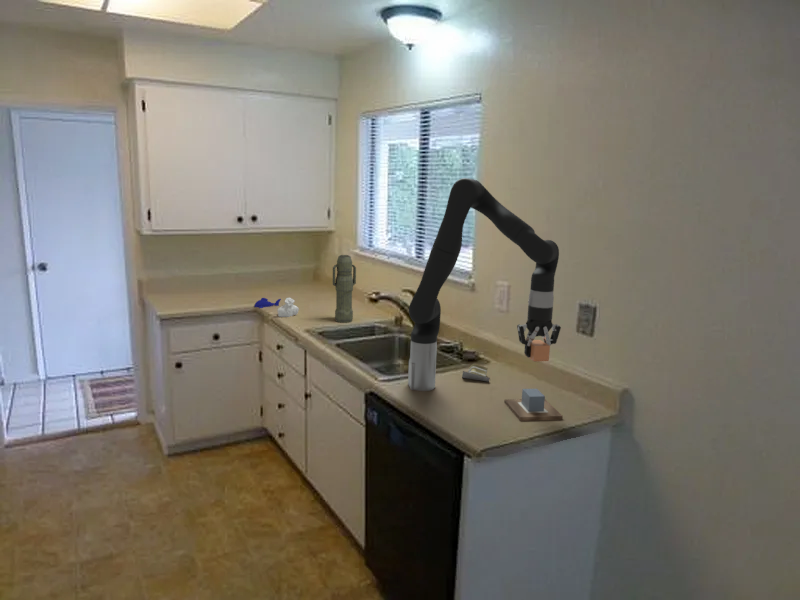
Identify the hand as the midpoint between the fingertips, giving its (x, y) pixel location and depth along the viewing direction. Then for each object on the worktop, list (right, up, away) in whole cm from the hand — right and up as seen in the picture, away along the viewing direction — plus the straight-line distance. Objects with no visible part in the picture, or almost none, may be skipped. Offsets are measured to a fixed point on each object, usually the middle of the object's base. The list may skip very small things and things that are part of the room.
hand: (536, 356), depth 183 cm
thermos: (-72, +6, +112) cm, 133 cm away
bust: (-103, +8, +120) cm, 158 cm away
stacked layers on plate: (-16, -12, +32) cm, 37 cm away
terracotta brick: (0, -1, 0) cm, 1 cm away
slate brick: (-1, -17, +3) cm, 17 cm away
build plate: (-1, -18, +4) cm, 19 cm away
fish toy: (-118, +12, +139) cm, 183 cm away
